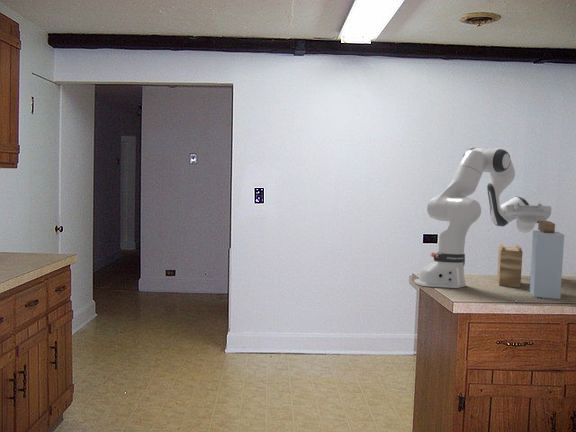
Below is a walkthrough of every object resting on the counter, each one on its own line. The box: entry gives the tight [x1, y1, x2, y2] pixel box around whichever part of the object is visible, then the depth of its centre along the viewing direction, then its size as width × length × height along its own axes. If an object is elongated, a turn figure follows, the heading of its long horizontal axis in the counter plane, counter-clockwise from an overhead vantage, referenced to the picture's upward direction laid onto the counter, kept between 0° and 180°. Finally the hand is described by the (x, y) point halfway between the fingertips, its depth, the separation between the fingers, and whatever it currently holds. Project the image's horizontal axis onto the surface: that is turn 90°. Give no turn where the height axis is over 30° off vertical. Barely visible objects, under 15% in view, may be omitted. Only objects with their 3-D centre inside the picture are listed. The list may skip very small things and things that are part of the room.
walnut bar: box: [537, 220, 556, 234], centre depth 256 cm, size 20×4×4 cm, turn 164°
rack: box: [496, 243, 524, 288], centre depth 276 cm, size 16×9×18 cm, turn 164°
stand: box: [528, 230, 565, 300], centre depth 250 cm, size 16×10×26 cm, turn 164°
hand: (529, 204), depth 279 cm, fingers open, 8 cm apart
